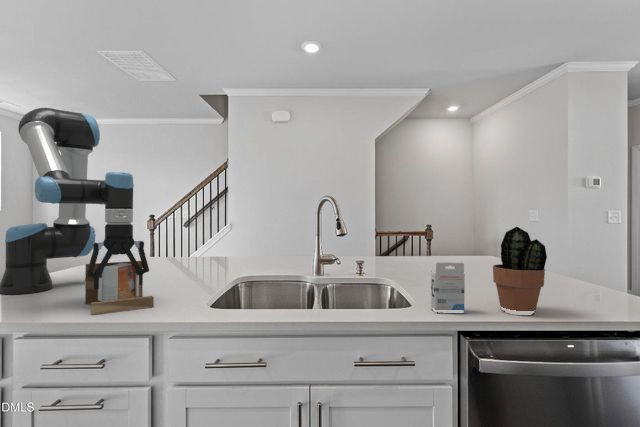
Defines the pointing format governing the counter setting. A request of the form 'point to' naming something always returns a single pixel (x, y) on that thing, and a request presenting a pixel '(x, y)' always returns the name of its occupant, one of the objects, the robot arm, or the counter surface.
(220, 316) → the counter surface
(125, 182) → the robot arm
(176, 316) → the counter surface
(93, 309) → the board
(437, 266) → the ink box
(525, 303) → the potted plant
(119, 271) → the small box
